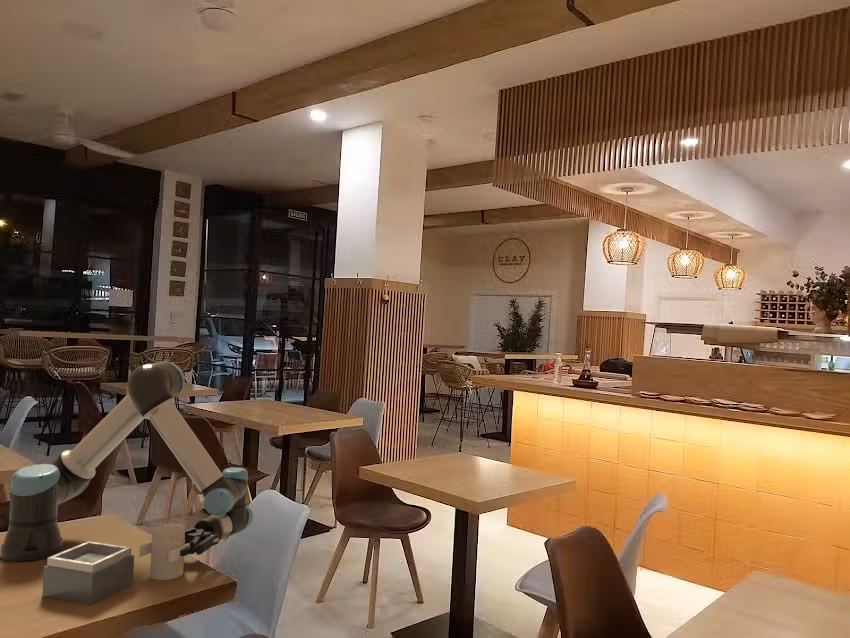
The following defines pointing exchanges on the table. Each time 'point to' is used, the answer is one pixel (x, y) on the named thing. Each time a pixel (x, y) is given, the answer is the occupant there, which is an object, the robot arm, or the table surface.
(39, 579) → the table surface
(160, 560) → the cup
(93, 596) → the box
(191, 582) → the table surface
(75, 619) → the table surface
